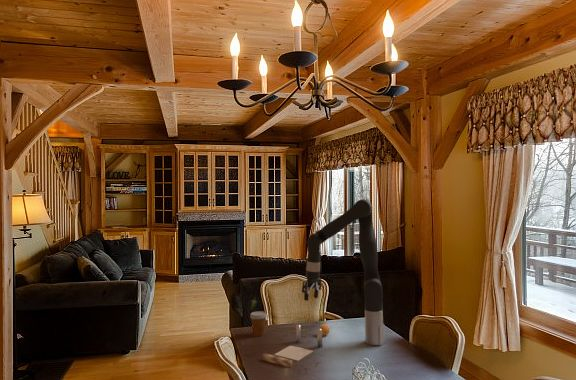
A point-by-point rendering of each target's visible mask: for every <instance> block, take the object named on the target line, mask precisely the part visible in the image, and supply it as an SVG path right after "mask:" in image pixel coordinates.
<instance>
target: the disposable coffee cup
mask: <svg viewBox="0 0 576 380" xmlns="http://www.w3.org/2000/svg"><path fill="white" fill-rule="evenodd" d="M267 316H268V314H267V313H266V312H265V311H260V310H258V311H253V312H251V313H250V315H249V318H250V321H251V328H252V335H253V336H254V337H258V336H259V337H263V336H265V334H266V333H265V332H266V324H267V323H266V322H267Z"/></svg>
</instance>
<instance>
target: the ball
mask: <svg viewBox="0 0 576 380" xmlns="http://www.w3.org/2000/svg"><path fill="white" fill-rule="evenodd" d="M318 328H321V329H322V337H323V336H324V337H326V336H327V335H328V334H329V333H330V327H329V325H327V324H325V323H324V324H321V325H319V327H318Z"/></svg>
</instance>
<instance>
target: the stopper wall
mask: <svg viewBox="0 0 576 380" xmlns="http://www.w3.org/2000/svg"><path fill="white" fill-rule="evenodd" d="M262 361H265V362H269V363H272V364H276V365H280V366H284V367H288V368H291V367H293V365H294V362H293V361H294V360H293V359H289V358H285V357H281V356H277V355H274V354H269V353H262Z"/></svg>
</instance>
